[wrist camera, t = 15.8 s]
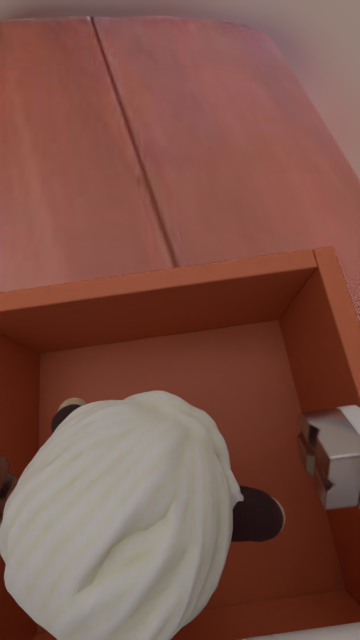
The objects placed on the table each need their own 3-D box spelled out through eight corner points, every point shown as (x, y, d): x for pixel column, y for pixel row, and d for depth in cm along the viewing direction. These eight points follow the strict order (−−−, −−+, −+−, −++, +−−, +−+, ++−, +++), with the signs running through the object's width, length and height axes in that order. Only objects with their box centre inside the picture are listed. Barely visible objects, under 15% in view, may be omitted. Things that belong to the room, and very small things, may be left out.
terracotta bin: (286, 308, 18) (334, 244, 12) (363, 602, 14) (501, 740, 8) (31, 344, 18) (-54, 299, 12) (24, 650, 14) (-115, 830, 8)
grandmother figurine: (84, 479, 15) (-309, 651, 3) (108, 398, 17) (-118, 311, 5) (245, 525, 14) (494, 976, 2) (259, 436, 16) (472, 450, 4)
